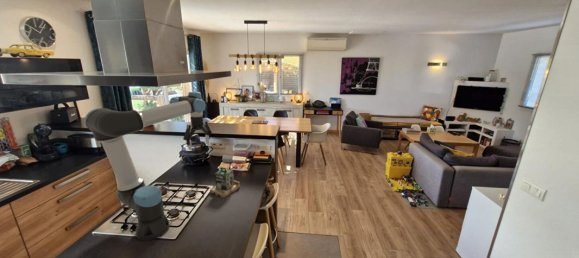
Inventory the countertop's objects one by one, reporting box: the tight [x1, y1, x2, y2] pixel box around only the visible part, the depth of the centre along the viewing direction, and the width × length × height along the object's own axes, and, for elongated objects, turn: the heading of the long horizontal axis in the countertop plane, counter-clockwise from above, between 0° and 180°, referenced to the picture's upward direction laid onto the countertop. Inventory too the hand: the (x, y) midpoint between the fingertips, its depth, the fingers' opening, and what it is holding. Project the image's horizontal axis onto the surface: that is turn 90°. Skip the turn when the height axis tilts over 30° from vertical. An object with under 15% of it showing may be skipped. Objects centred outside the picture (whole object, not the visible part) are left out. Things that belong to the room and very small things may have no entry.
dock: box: [209, 179, 241, 199], centre depth 159 cm, size 16×12×5 cm
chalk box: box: [214, 166, 235, 191], centre depth 156 cm, size 9×9×15 cm
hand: (199, 146), depth 152 cm, fingers open, 13 cm apart
